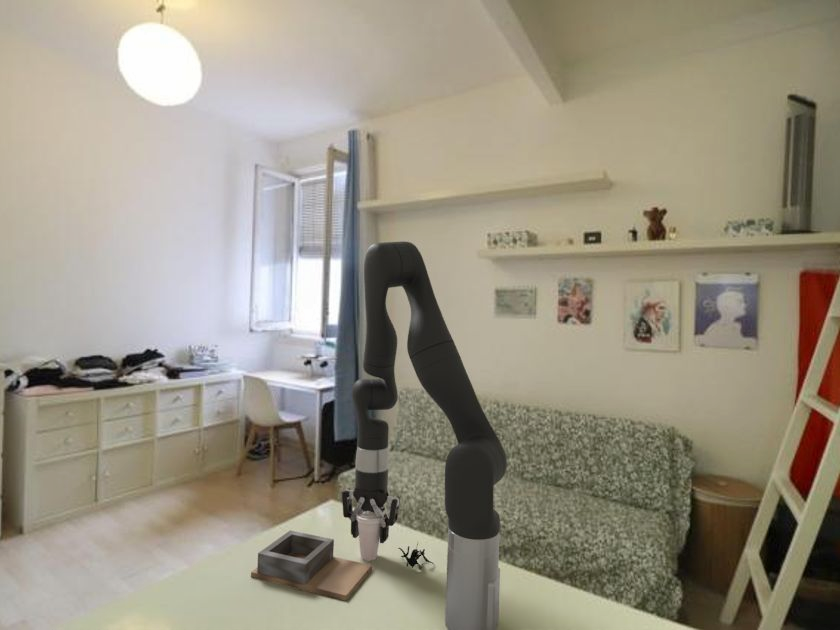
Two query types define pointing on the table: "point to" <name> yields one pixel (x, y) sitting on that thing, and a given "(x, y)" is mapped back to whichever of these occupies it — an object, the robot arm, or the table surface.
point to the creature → (414, 557)
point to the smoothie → (368, 534)
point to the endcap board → (309, 566)
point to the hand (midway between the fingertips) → (369, 538)
